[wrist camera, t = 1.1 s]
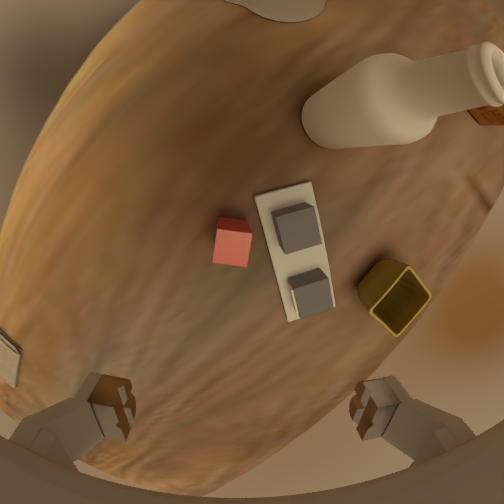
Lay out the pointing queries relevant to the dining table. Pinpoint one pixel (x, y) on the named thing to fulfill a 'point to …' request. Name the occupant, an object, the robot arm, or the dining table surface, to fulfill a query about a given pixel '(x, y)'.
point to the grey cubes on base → (297, 249)
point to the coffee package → (488, 115)
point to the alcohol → (402, 97)
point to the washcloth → (9, 359)
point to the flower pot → (393, 294)
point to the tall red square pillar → (232, 242)
